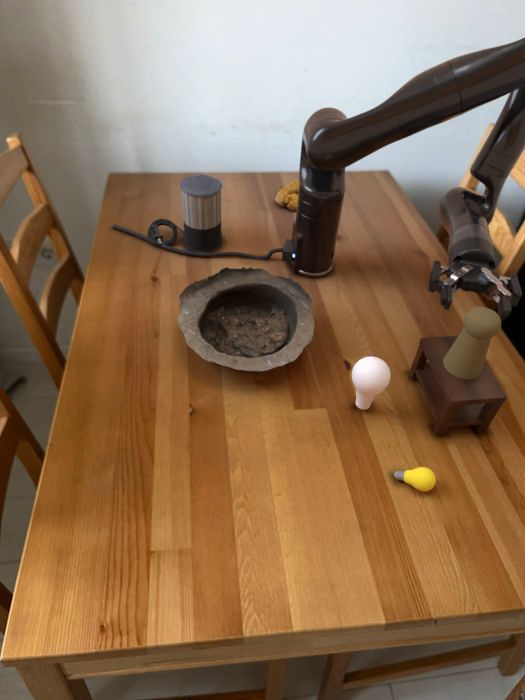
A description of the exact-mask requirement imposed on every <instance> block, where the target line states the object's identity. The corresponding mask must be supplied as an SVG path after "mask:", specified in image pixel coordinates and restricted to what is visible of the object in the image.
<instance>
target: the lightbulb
mask: <svg viewBox="0 0 525 700" xmlns="http://www.w3.org/2000/svg"><path fill="white" fill-rule="evenodd" d="M352 367H353V368H352V371H351V380H352V384H353V386H354V387H355V405H356V407H357V408H358V409H359V410H363V411H366V410H368V409H370V407H371V405H372V402H374V400H375V398H376V397H377V395H379V394H381V393H382V392H384V391H385V390H386V389H387V387H388V386H389V385H390V382H391V378H392V377H391V376H392V374H391V370H390V367H389V365H388V363H386V361H384V360H383V359H382V358H380V357H377V356H365V357H363V358H360V359H359V360H358V361H356V363H355V364H354V365H353V366H352Z"/></svg>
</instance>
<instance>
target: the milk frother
mask: <svg viewBox="0 0 525 700" xmlns="http://www.w3.org/2000/svg"><path fill="white" fill-rule="evenodd" d="M179 188H180V189H181V204H182V216H183V217H182V218H183V230H182V228H180V227H179V226H178V225H176V223H174V222H173V221H171V220H169V219H167V218H159V219H156V220H153V222H152V223H151V224H150V225H149V226H148V229H147V231H146V232H147V233H146V237H148V240H149V241H150V242H151V243H150V242H149V243H150V244H152V245H154V246H157V247H159V245H161V244H164V245H167V246H171V245H174V244H175V242H176V241H177V239H178V237H179V232H180V233H181V234H183V240H182V241H183V245H184V247H185V249H187V250H188V251H192V252H201V253H214V252H216V251H217V250H219V249H220V248H221V247H223V242H224V241H223V232H222V189H223V183H222V181H221V180H220V179H219V178H217V177H215V176H213V175H208V174H203V173H202V174H193V175H189V176H186V177H185V178H183V179H182V180H180V182H179ZM160 226H166V227H168V228H169V229H170V230H171V231H172V236H171V237H170V238H169V239H166V240H163V238H164V235H163V234H162V233H161V231H160V229H159V227H160Z"/></svg>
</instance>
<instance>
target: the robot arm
mask: <svg viewBox="0 0 525 700" xmlns="http://www.w3.org/2000/svg"><path fill="white" fill-rule="evenodd" d="M507 95H508V96H507ZM504 96H507V98H506V100H505V102H504V104H503V107H502V109H501V110H500V113H499V114H498V117H497V118H496V120H495V123H494V124H493V126H492V128H491V129H490V131H489V134H488V135H487V137H486V139H485V141H484V143H483V144H482V145H481V147H480V149H479V151H478V152H477V154H476V157H475V158H474V160H473V161H472V163H471V165H470V167H469V174H470V175H471V177H473V178H474V179H475V180H477V181H479V182H480V183H481V184H482V185H484V192H483V194H481V193H478V192H476V191H473V190H471V189H469V188H466V187H463V186H454V187H451V188H449V189H448V190H447V191H445V193H444V194H443V195H442V197H441V199H440V201H439V205H438V216H439V220H440V222H441V224H442V225H443V228H444V230H445V231H446V233H447V234H448V239H449V241H448V246H447V247H448V248H447V258H448V266H446V265H442V262H441V261H440V260H433V263H432V266H431V269H430V271H429V279H428V287H427V290H428V291H429V292H431V293H435V292H437V293H438V295H439V304H440V306H442V307H443V310H446V311H449V310H450V308H451V305H452V303H453V294H455V293H456V292H458V291H460V290H461V291H463V292H470V293H471V292H472V293H475V294H479V295H482V296H483V297H484V298H486V299H487V300H488V301H493V303H495V304H496V305H497V306H496V309H497V314H498V315H499V317H500V319H501V321H505V320H506V319H508V318H509V316H510V314H511V312H512V311H513V308H514V307H515V308H516V307H517V305H518V303H519V301H520V299H521V297H522V296H523V291H522V287H521V284H520V280H519V277H518V275H517V274H516V273H513V272H511V273H509V275H508V276H504V275H500V273H499V272H498V271H497V263H496V257H495V251H494V244H493V240H492V239H493V238H492V237H491V235H490V234H491V233H490V228H489V225H490V224H491V223H492V221H493V219H494V217H495V213H496V210H497V205H498V203H499V199H500V196H501V193H502V190H503V188H504V185H505V183H506V181H507V179H508V177H509V176H510V174H511V172H512V171H513V169H514V168H515V166H516V164H517V162H518V161H519V160H520V158H521V156H522V154H523V152H524V151H525V37H521V38H520V39H517V40H515V41H513V42H508V43H506V44H500V45H498V46H493V47H488V48H484V49H480V50H475V51H473V52H469V53H468V52H467V53H465V54H461V55H458V56H456V57H452V58H450V59H448V60H446V61H443V62H440V63H439V64H436V65H435V66H431V67H430V68H428V69H425V70H424V71H421V72H420V73H418V74H416V75H415V76H413V77H412V78H410V79H409V80H408V81H406V82H405V83H404V84H402V85H401V86H400V87H399V88H398V89H397V90H396V91H395V92H394V93H393V94H391V95H390V96H389V97H388V98H387V99H385V100H384V101H383V102H381V103H380V104H378V105H376V106H375V107H373V108H371V109H368V110H366V111H364V112H362V113H359V114H356V115H354V116H351V117H347V115H346V113H344V111H341V110H340V109H338V108H335V107H331V106H329V107H322V108H320V109H317V110H316V111H315V112H313V113H312V114H311V115H310V116H309V117H308V118H307V120H306V122H305V124H304V127H303V129H302V137H301V146H300V158H299V169H298V181H299V196H298V205H297V211H296V215H295V221H294V222H292V232H291V239H290V238H286V239H285V242H284V246H283V247H277V248H273V249H271V250H269V251H268V253H267V254H265V255H252V254H249V253H245V252H240V251H239V252H238V251H220V252H209V253H201V252H193V251H191V250H186V249H182V248H177V247H174V246H171V245H169V246H167V245H164V244H161V245H159V246H158V247H159V248H161V249H164V250H167V251H170V252H173V253H177V254H180V255H181V254H182V255H185V256H192V257H193V256H194V257H202V258H203V257H204V258H214V257H215V258H216V257H240V258H245V259H250V260H260V261H264V260H269V259H271V257H272V256H273V255H274V254H276V253H282V254H281V255H282V256H281V261H282V262H289V263H290V267H291V269H292V273H293V274H294V275H301V276H303V277H307V278H322V277H324V276H327V275H329V274H330V273H331V272H332V270H333V266H334V258H335V254H336V249H337V247H336V245H337V240H338V236H339V235H338V234H339V229H340V223H341V219H342V218H341V217H342V213H343V206H344V199H345V193H346V186H347V185H346V168H348V167H349V166H351V165H353V164H355V163H357V162H359V161H360V160H362V159H364V158H366V157H368V156H370V155H372V154H373V153H375V152H377V151H379V150H381V149H383V148H385V147H387V146H389V145H391V144H394V143H396V142H399V141H401V140H404V139H406V138H408V137H411V136H413V135H416V134H417V133H420V132H422V131H425V130H427V129H430V128H432V127H435V126H438V125H441V124H443V123H446V122H447V121H450V120H453V119H455V118H458V117H460V116H463V115H464V114H466V113H468V112H470V111H473V110H474V109H477V108H480V107H482V106H484V105H487V104H489V103H491V102H493V101H496V100H498V99H500V98H502V97H504ZM112 229H114V230H117V231H120V232H124V233H127V234H128V235H131V236H134V237H136V238H139V239H141V240H144V241H146V242H147V243H150V244H152V243H151V242H150V241H149V240H148V237H147V235H144V234H142V233H139V232H136V231H135V230H134V231H133V230H131V229H128V228H126V227H123V226H120V225H117V224H112ZM444 275H446V279H445V280H443V281H442V280H440V279H441V278H442V277H443V276H444Z"/></svg>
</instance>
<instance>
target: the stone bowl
mask: <svg viewBox="0 0 525 700" xmlns="http://www.w3.org/2000/svg"><path fill="white" fill-rule="evenodd" d="M178 298H179V303H180V304H179V305H178V309H179V311H180V313H179V315H177V322H178V325H179V328H180V331H181V332H182V334H183V335H184V339H185V342H186V344H187V345H188V347H189V348H190V349H192V350H193V351H194V352H195V354H197V355H198V356H200V358H201V359H203V360H204V361H206V362H210V363H215V364H218V365H221V366H224V367H228V368H231V369H234V370H237V371H245V372H247V371H248V372H265V371H269V370H272V369H274V368H277V367H282V366H284V365H286V364H288V363H293V362H294V361H295V360H297V359H298V357H299V356H300V355H301V354H302V353H303V351H304V348H305V347H306V346H307V345H309V344H311V343H312V340H313V336H314V331H315V327H316V325H315V324H316V323H315V322H316V321H315V319H314V313H313V308H312V307H311V305H312V298H311V296H310V293H308V292H307V291H306V290H305V289H304V288H303V286H302V285H301V284H300V283H298V282H297V281H295V280H294V279H293V278H291V277H285V276H281V275H272V274H270V272H268V270H266V269H264V268H253V267H248V268H246V267H245V266H243V267H241V268H230V267H224V268H222V269H220V270H219V271H218V272H216V273H214V274H213V275H209V276H207V278H203V279H201V280H198V281H194V282H193V283H190V284H189V285H188V286H186V287H185V288H184V289H183V291H182V292H181V293H180V294H179V296H178Z"/></svg>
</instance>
